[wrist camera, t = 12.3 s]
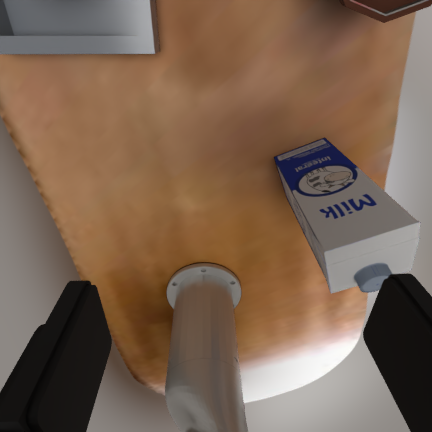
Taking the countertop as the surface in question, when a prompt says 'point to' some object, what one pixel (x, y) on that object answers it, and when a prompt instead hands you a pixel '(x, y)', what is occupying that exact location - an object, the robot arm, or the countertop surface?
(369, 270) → the milk carton
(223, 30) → the countertop surface
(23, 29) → the gray rectangular tray
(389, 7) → the ice cream bowl
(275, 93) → the countertop surface
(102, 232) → the countertop surface
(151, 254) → the countertop surface
